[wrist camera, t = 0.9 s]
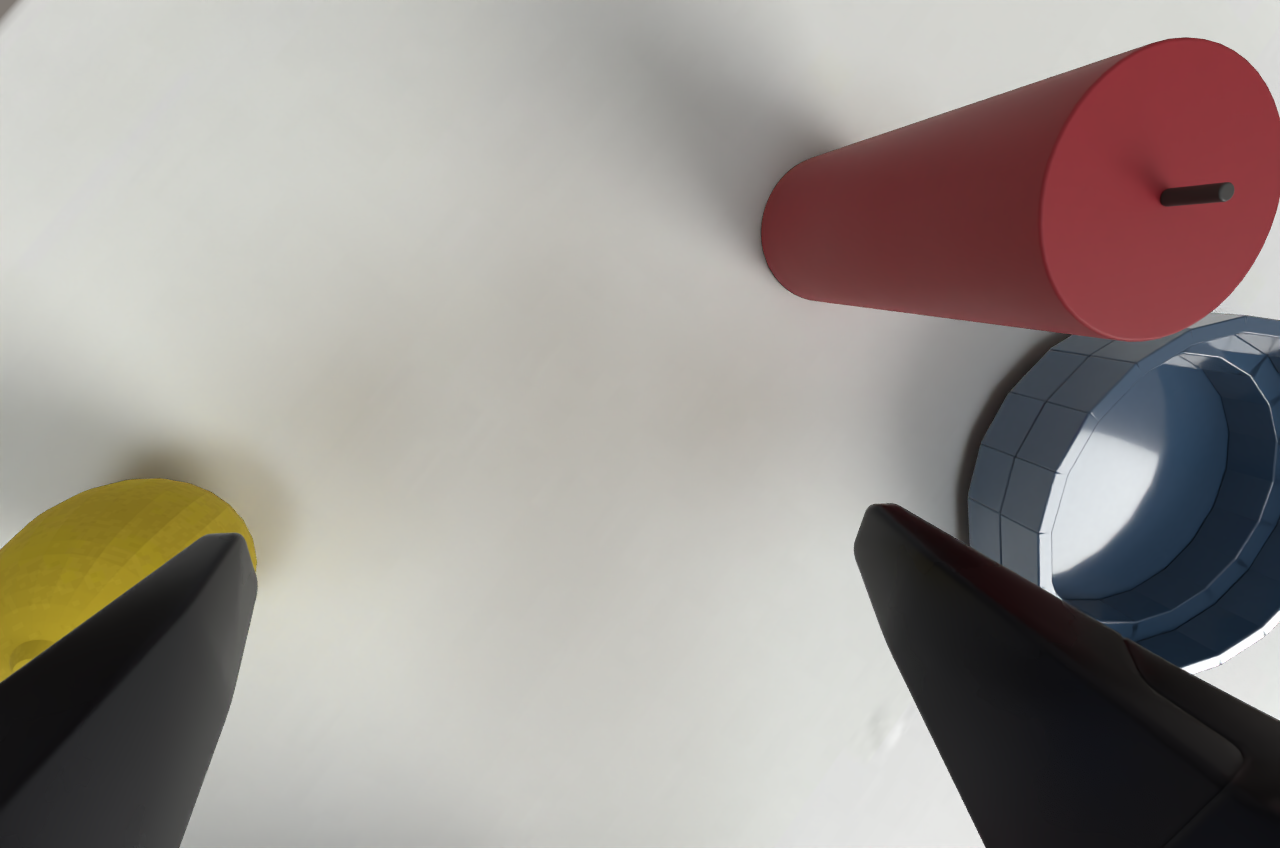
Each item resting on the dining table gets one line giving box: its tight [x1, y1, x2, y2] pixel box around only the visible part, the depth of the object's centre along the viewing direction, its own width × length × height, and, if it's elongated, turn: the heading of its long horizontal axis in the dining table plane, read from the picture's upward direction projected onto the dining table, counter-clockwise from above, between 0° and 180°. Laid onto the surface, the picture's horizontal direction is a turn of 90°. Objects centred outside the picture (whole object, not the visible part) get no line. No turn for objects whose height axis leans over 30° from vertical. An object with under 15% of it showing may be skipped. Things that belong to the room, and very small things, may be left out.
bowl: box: [967, 313, 1280, 675], centre depth 26 cm, size 14×14×4 cm
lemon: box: [0, 478, 257, 682], centre depth 18 cm, size 6×6×8 cm
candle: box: [761, 37, 1280, 342], centre depth 17 cm, size 5×5×14 cm
